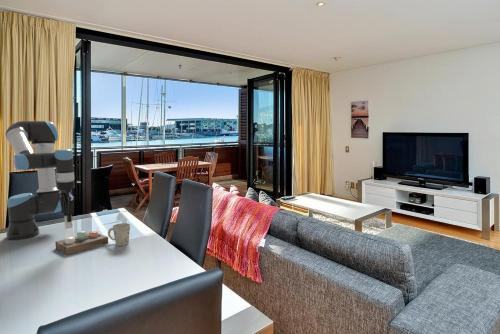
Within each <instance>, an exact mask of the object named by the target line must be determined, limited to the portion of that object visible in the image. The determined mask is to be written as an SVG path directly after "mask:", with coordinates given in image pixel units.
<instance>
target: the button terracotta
mask: <svg viewBox="0 0 500 334" xmlns="http://www.w3.org/2000/svg"><path fill="white" fill-rule="evenodd" d="M88 233H89V238H95V237H99V236H98V233H99V231H98V230H93V231H89V232H88Z"/></svg>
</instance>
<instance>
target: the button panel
mask: <svg viewBox="0 0 500 334" xmlns="http://www.w3.org/2000/svg"><path fill="white" fill-rule="evenodd" d="M98 236H99V237H95V238H89V232H88V233H87V240H84V241H77V235H76V236H74V237H75V243H72V244H69V245H66V244H65V238H64V239H60V240H56V241H55V249H57V250H58V251H59V252H62V253H64V254H66V255H68V256H70V255H72V254H75V253H80V252H82V251H86V250H89V249H90V250H91V249H93V248H97V247H100V246H103V245H107V244H109V236H108V235H104V234H102V233H99V232H98Z"/></svg>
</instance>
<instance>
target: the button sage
mask: <svg viewBox="0 0 500 334" xmlns="http://www.w3.org/2000/svg"><path fill="white" fill-rule="evenodd" d="M87 234H88V233H87V230H80V231H77V232H76V236H77V241H84V240H87Z"/></svg>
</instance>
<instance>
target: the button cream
mask: <svg viewBox="0 0 500 334" xmlns="http://www.w3.org/2000/svg"><path fill="white" fill-rule="evenodd" d="M75 237H76V236H68V237H65V238H64V239H65V244H66V245H69V244H72V243H75Z"/></svg>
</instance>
